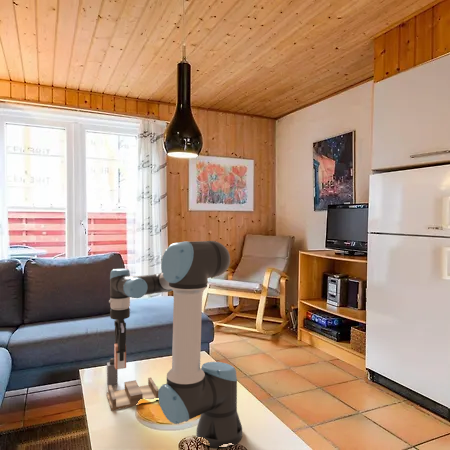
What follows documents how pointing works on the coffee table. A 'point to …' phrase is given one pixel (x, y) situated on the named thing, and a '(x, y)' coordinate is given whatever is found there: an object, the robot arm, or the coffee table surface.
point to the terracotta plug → (117, 356)
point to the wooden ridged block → (131, 394)
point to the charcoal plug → (112, 373)
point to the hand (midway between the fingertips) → (120, 366)
